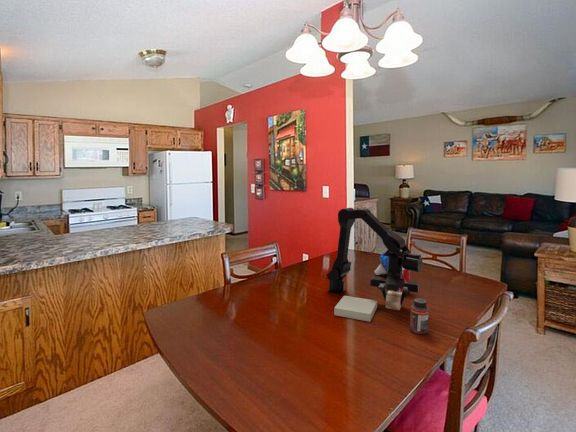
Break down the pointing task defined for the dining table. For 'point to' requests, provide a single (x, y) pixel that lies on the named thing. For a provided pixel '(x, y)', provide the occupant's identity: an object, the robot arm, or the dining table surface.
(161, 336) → the dining table surface
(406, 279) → the soda can
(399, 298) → the maple cube
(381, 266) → the mushroom
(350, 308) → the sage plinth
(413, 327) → the supplement bottle
